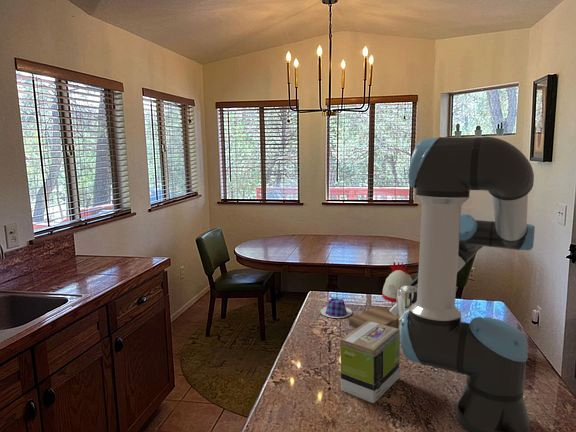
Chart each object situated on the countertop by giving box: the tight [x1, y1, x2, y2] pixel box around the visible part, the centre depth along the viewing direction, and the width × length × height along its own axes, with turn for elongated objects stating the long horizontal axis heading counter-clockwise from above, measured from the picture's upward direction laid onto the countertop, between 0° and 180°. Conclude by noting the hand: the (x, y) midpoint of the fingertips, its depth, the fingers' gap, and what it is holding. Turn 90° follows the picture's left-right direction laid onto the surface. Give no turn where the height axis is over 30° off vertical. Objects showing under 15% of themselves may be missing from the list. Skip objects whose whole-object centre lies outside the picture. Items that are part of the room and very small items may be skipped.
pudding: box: [320, 297, 353, 319], centre depth 161 cm, size 12×12×5 cm
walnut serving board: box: [348, 305, 399, 329], centre depth 150 cm, size 16×12×3 cm
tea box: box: [340, 321, 401, 404], centre depth 111 cm, size 15×10×15 cm, turn 141°
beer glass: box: [397, 285, 418, 330], centre depth 135 cm, size 7×7×15 cm
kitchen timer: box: [381, 261, 414, 304], centre depth 176 cm, size 14×14×15 cm
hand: (397, 317), depth 134 cm, fingers closed on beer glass, 7 cm apart
